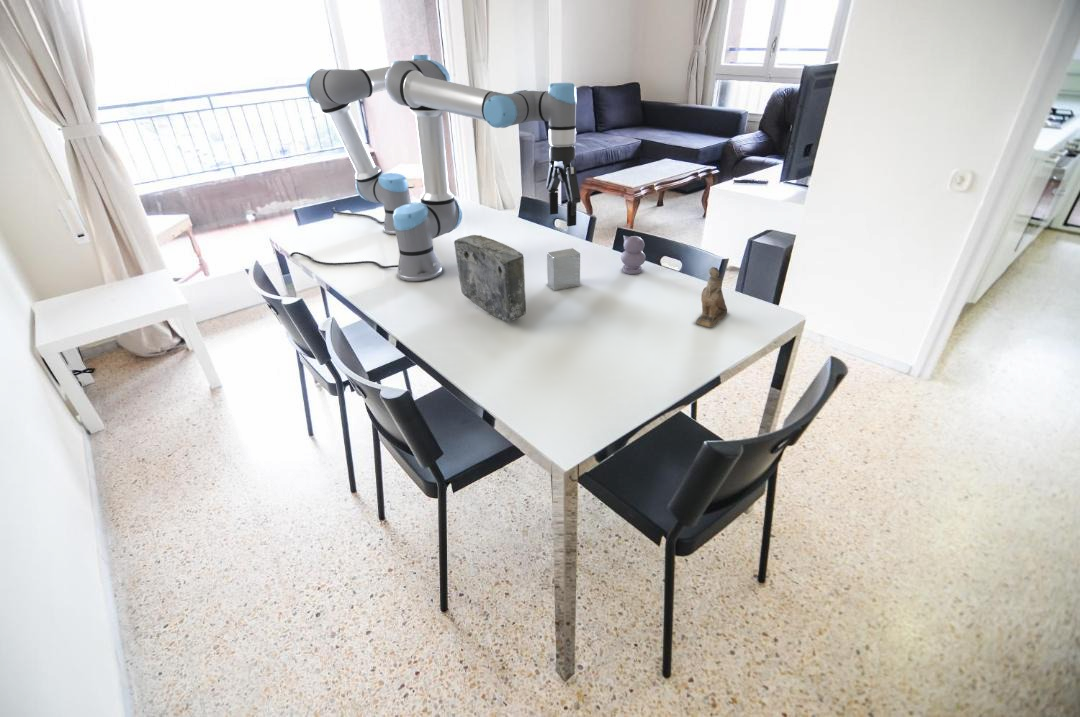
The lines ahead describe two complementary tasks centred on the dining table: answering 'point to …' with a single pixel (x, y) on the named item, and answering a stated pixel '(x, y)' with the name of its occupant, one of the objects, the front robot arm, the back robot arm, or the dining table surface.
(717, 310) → the worn brown figurine
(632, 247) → the cat figurine
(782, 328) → the dining table surface
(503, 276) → the concrete block
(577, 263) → the brick
